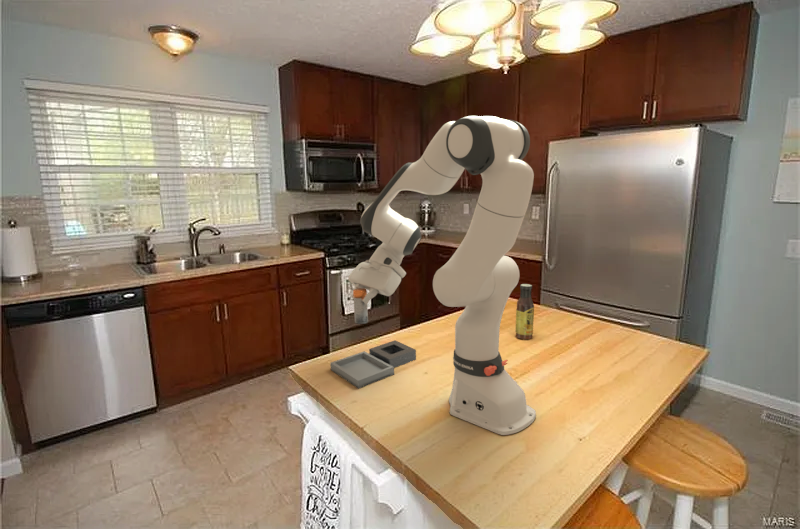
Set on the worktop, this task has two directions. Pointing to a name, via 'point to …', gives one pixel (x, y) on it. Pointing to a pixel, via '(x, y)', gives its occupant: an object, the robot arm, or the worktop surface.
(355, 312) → the pin
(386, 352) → the receiver
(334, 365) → the tray
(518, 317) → the sauce bottle
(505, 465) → the worktop surface
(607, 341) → the worktop surface
